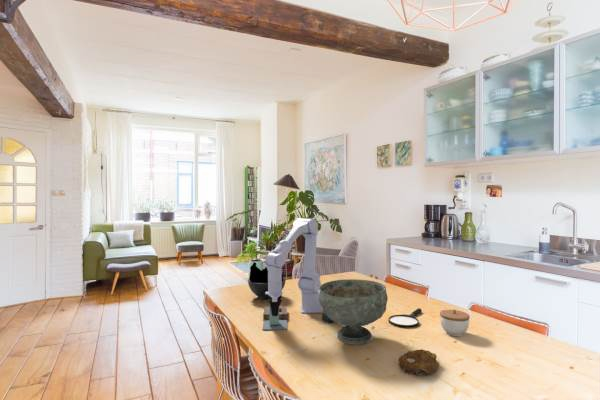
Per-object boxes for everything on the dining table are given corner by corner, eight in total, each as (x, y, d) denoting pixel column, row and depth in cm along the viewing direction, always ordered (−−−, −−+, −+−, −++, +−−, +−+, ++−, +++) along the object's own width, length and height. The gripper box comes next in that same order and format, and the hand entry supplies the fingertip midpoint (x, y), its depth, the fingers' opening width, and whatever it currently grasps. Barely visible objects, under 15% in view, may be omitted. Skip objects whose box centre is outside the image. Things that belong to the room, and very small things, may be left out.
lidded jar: (467, 330, 143) (467, 307, 143) (471, 340, 133) (471, 315, 133) (439, 326, 147) (439, 304, 147) (440, 336, 137) (440, 312, 137)
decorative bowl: (343, 359, 118) (343, 299, 118) (306, 332, 141) (306, 282, 141) (402, 343, 130) (402, 289, 130) (360, 321, 153) (360, 275, 153)
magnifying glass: (433, 315, 161) (433, 310, 161) (411, 332, 143) (411, 326, 143) (406, 309, 169) (406, 305, 169) (383, 324, 151) (383, 319, 151)
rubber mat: (286, 321, 154) (286, 319, 154) (287, 329, 144) (287, 328, 144) (263, 321, 153) (263, 320, 153) (262, 330, 143) (262, 329, 143)
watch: (331, 324, 149) (331, 298, 149) (319, 319, 156) (319, 294, 156) (341, 321, 153) (341, 296, 153) (329, 316, 159) (329, 292, 159)
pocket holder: (286, 311, 166) (286, 306, 166) (287, 319, 156) (287, 313, 156) (264, 312, 166) (264, 306, 165) (263, 320, 155) (263, 314, 155)
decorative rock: (410, 354, 123) (394, 374, 110) (409, 343, 123) (393, 361, 110) (444, 362, 116) (431, 383, 104) (443, 349, 116) (430, 369, 104)
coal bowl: (292, 296, 192) (292, 261, 192) (270, 305, 175) (270, 268, 175) (263, 290, 203) (263, 258, 202) (240, 299, 186) (239, 263, 185)
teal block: (279, 320, 151) (279, 299, 151) (279, 324, 147) (279, 302, 147) (269, 321, 150) (269, 300, 150) (269, 324, 146) (269, 303, 146)
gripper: (266, 277, 155) (266, 308, 156) (264, 286, 141) (264, 320, 141) (282, 277, 156) (282, 308, 156) (282, 286, 141) (282, 319, 141)
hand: (275, 313), depth 149 cm, fingers closed on teal block, 4 cm apart
